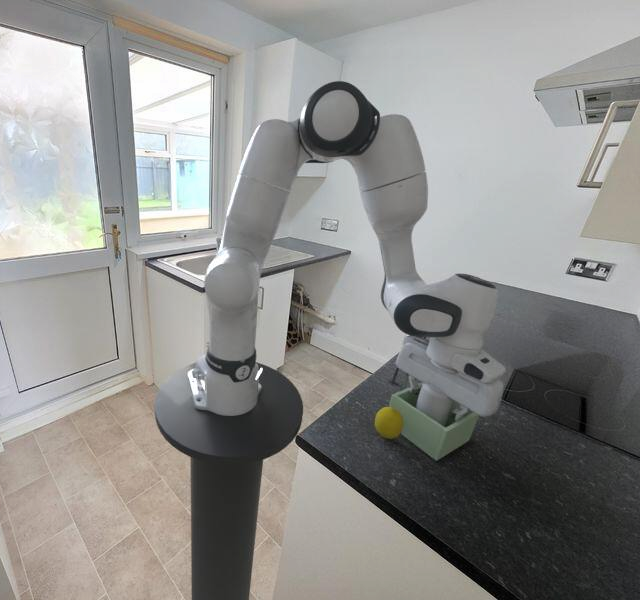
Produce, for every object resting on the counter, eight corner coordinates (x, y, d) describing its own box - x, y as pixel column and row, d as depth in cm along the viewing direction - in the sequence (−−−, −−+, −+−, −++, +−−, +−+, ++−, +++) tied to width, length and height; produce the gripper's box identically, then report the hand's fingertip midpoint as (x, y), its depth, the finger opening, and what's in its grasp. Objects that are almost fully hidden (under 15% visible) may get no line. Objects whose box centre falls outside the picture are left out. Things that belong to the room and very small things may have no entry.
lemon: (399, 435, 70) (408, 406, 68) (395, 451, 66) (404, 421, 63) (374, 424, 73) (381, 396, 70) (368, 439, 69) (376, 409, 66)
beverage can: (445, 428, 72) (461, 385, 68) (437, 442, 68) (453, 397, 64) (416, 414, 76) (429, 372, 72) (406, 426, 72) (420, 383, 68)
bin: (384, 421, 74) (391, 394, 72) (416, 406, 80) (424, 381, 77) (436, 461, 64) (447, 431, 61) (469, 440, 70) (480, 412, 67)
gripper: (397, 332, 72) (384, 383, 77) (500, 381, 55) (475, 441, 60) (414, 328, 75) (401, 376, 80) (516, 373, 58) (491, 431, 63)
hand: (433, 405), depth 70 cm, fingers open, 8 cm apart
